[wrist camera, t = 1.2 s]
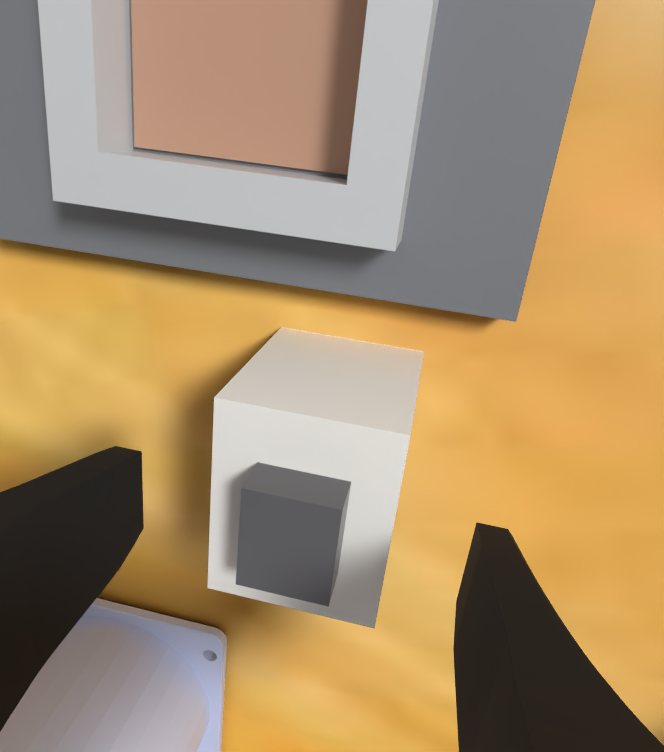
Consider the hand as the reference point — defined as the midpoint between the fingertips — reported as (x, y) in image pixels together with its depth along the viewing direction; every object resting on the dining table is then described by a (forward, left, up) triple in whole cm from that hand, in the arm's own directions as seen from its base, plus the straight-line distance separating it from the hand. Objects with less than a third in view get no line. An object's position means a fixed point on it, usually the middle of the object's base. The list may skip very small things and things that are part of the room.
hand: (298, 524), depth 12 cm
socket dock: (+10, +3, -5) cm, 12 cm away
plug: (0, 0, -5) cm, 5 cm away
